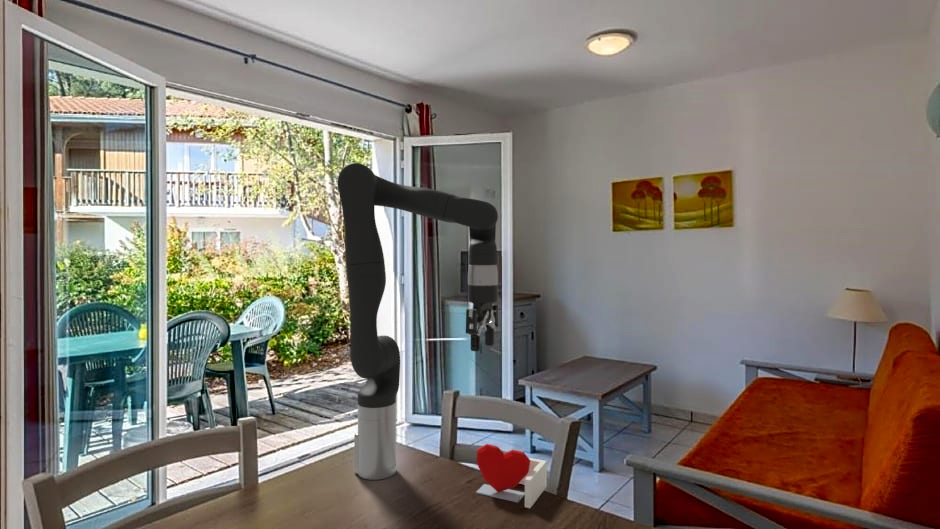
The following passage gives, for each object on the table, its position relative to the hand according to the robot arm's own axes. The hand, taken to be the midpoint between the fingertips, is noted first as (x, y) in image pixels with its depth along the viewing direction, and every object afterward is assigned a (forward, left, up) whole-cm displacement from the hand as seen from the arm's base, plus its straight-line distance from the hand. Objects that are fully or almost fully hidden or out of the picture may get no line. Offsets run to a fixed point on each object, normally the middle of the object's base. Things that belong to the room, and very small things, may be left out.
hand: (482, 348), depth 130 cm
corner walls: (+12, -9, -30) cm, 33 cm away
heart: (+9, -11, -30) cm, 33 cm away
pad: (+10, -11, -30) cm, 33 cm away
